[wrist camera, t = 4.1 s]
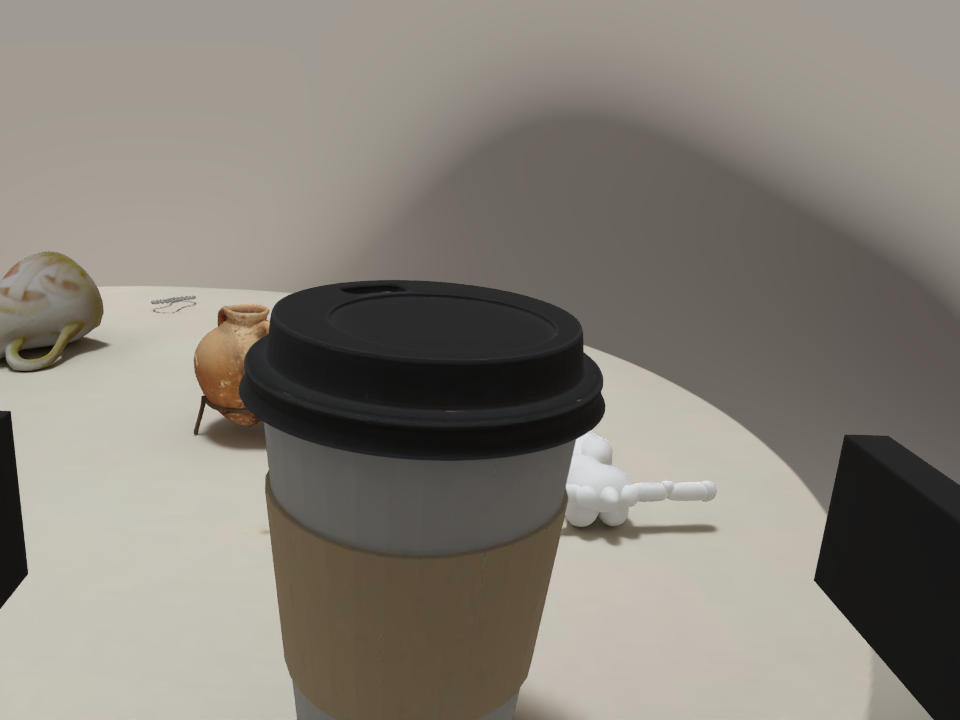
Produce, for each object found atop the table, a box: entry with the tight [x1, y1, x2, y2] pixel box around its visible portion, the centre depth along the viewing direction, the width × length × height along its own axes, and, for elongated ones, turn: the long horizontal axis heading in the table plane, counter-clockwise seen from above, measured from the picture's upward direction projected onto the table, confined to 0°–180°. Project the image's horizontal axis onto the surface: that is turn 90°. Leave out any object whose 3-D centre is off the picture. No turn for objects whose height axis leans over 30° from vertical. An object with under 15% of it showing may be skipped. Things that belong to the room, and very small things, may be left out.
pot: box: [194, 304, 270, 434], centre depth 50 cm, size 6×8×6 cm
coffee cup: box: [239, 280, 605, 720], centre depth 23 cm, size 9×9×15 cm
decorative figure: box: [566, 431, 717, 527], centre depth 49 cm, size 4×12×18 cm
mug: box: [0, 252, 103, 371], centre depth 62 cm, size 8×10×10 cm
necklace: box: [151, 296, 196, 304], centre depth 77 cm, size 2×5×1 cm, turn 167°
